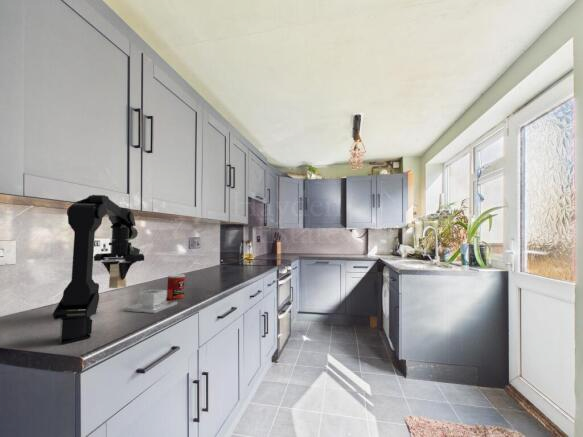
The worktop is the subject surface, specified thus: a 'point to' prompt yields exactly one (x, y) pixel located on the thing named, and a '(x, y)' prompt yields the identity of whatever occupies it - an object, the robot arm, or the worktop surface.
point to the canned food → (176, 286)
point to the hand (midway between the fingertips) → (118, 279)
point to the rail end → (116, 277)
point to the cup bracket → (151, 302)
